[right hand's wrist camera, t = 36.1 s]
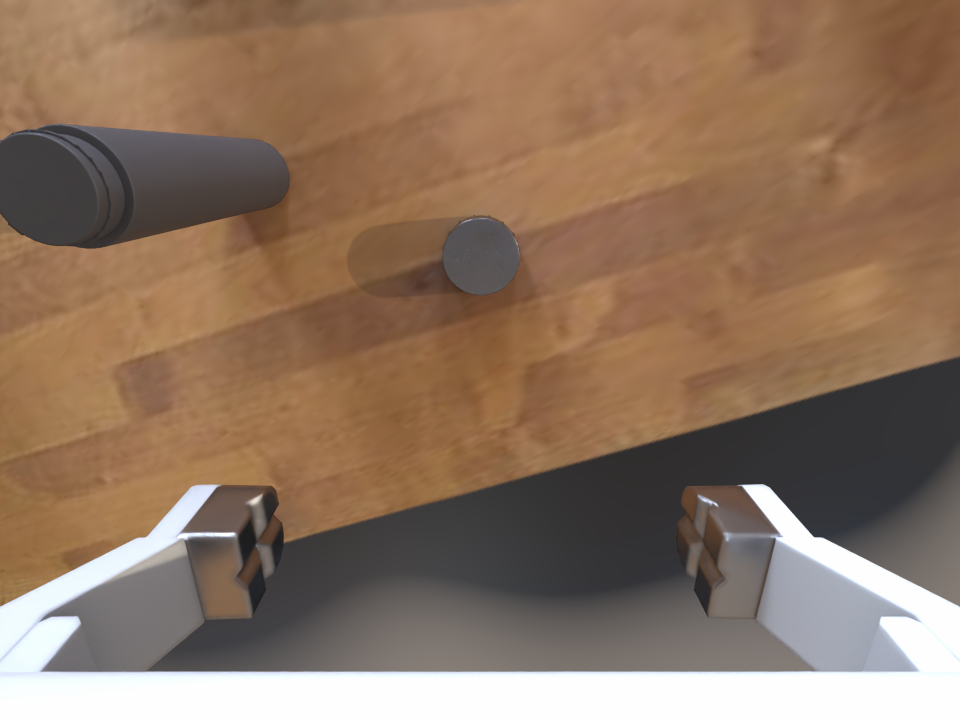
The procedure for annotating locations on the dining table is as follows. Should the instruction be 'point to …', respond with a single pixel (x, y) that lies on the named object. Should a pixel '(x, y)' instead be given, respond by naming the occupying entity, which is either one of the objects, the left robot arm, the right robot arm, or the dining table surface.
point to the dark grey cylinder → (130, 182)
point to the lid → (481, 255)
